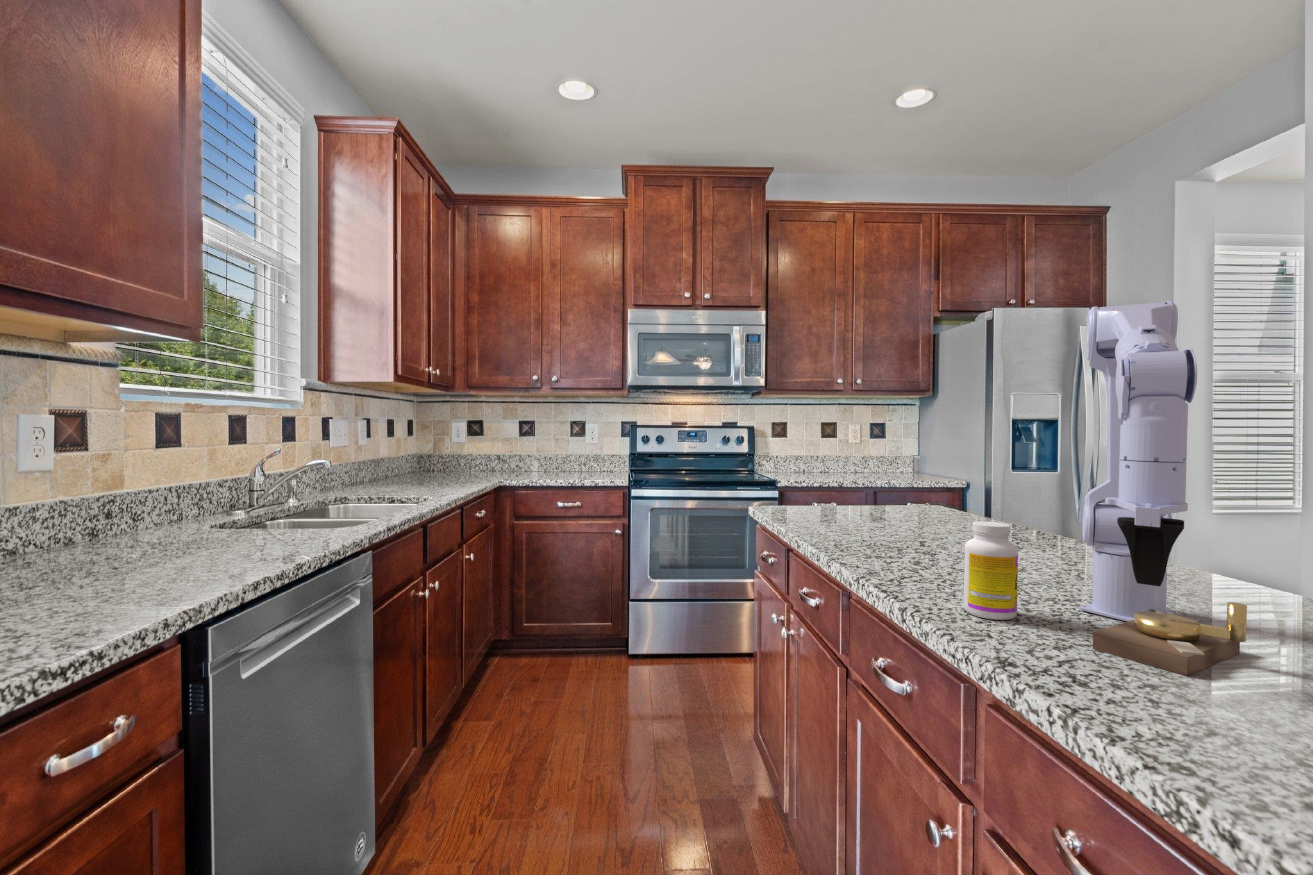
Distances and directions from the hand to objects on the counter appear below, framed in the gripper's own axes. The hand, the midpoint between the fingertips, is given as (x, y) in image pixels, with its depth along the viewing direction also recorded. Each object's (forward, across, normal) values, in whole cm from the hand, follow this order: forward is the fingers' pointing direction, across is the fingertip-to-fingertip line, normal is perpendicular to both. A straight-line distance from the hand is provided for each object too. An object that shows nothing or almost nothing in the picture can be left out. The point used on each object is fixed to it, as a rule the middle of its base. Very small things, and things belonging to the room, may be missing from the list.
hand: (1148, 583), depth 67 cm
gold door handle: (+7, -8, +3) cm, 11 cm away
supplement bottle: (+10, -9, -18) cm, 22 cm away
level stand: (+9, -8, +1) cm, 12 cm away
